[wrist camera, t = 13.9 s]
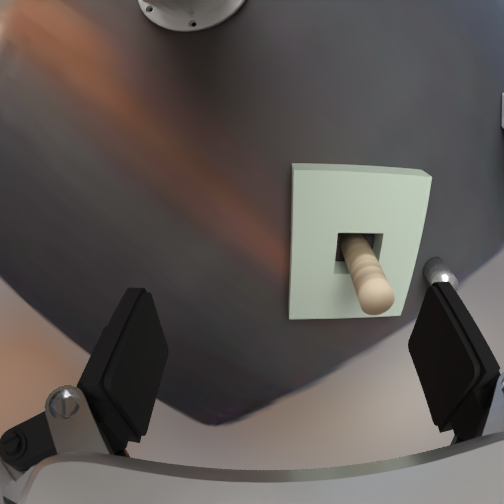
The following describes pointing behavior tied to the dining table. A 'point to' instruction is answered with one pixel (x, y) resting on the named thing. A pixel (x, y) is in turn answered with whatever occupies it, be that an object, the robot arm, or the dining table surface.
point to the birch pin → (366, 274)
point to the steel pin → (438, 272)
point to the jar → (502, 111)
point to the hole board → (352, 221)
